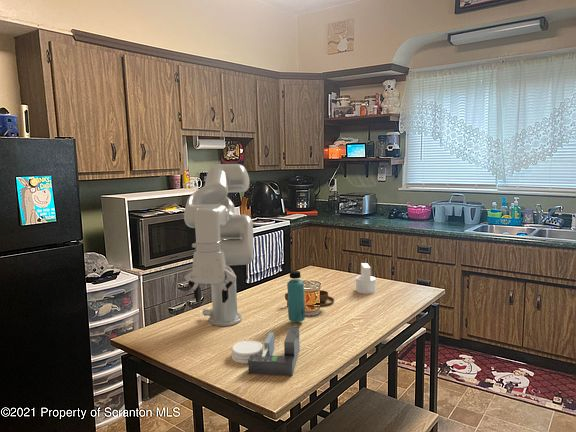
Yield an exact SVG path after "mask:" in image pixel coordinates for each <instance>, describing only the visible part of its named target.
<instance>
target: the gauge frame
mask: <svg viewBox="0 0 576 432" xmlns="http://www.w3.org/2000/svg"><path fill="white" fill-rule="evenodd" d="M300 344H301V343H300V325H299V326H296V325H295V326H293V325H290V326H289V328H288V330H287V333H286V335H285V338H284V341H283V347H284V348H283V349H284V350H283V351H284V355H272V356H270V355H266V356H265V358H262V355H251V356H250V358H249V360H248V363H247V369H248V374H249V375H265V376H285V377H287V376H288V377H293V375H294V372H295V368H296V365H297V361H298V357H299V353H300V351H301V350H300V346H301V345H300Z"/></svg>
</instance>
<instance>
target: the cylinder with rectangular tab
mask: <svg viewBox="0 0 576 432" xmlns="http://www.w3.org/2000/svg"><path fill="white" fill-rule="evenodd" d="M371 269H372V268H371V266H370V265H369V263H367V262H361V263H360V275H359V276H356V277H355V292H357V293H359V294H365V295H369V294H374V293H376V291H377V289H376V287H377V286H376V285H377V281H376V280H377V279H376V277H375V276H372V275H371V274H372V273H371V272H372V270H371Z"/></svg>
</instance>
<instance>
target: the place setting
mask: <svg viewBox="0 0 576 432" xmlns="http://www.w3.org/2000/svg"><path fill="white" fill-rule="evenodd" d="M284 298H285V299H284V300H285V301H286V307H287V308H288V292H287V293H285V294H284ZM327 301H331V302H328V303H326V302H327ZM320 303H321V304H320V307H319V308H322V307H323V308H324V307H330V306H331V305H333V304H334V303H335V298H334V297H332V296H329V292H328V291H327V290H321V289H320Z"/></svg>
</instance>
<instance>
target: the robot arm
mask: <svg viewBox="0 0 576 432" xmlns="http://www.w3.org/2000/svg"><path fill="white" fill-rule="evenodd" d="M249 187H250V176H249V174H248V171H247V168H246V167H245V166H244V165H242V164H240V163H220V164H218V163H217V164H214V165H212V166H210V167H209V169H208V170H207V172H206V178H205V183H204V185H203V186H202V187H201V188H199V189H197V190H196V191H194V192H192V193H191V195H189V197H188V198H187V201H186V204H185V208H184V212H183V219H184V223H185V225H186V226H187V227H189V228H192V229H194V230H195V243H194V242H193V243H192V244H191V247H192V249H193V248H194V249H195V251H194V252H193V256H192V257H193V258H192V270H191V271H189V272H188V273H187V274H186V275H184V279H185V280H186V282H187V284H188V286H190V287H191V288H192V290H193V295H194V299H195V303H199V302H200V301H201V300H202V289H201V287H200V285H210V287H211V305H212V308H210V309H208V308H203V309H202V314H203V316H204V317H205V316H206V317H207V316H209V318H208V323H209V324H210V325H213V326H215V327H228V326H232V325H236V324H238V323H240V322H241V321H242V319H243V317H242V316H243V315H241V313H239V312H238V301H237V300H238V297H237V296H238V295H237V294H238V293H237V275H236V274H235V272H234V270H233V269H232V268H231V267H230V266H244V265H250V264H252V262H253V260H254V224H253V219H252V218H251V216H249V215H247V214H235V204H234V203H233V202H232V199H231V198H229V197H228V194H229V193H245V192H248V190H249Z"/></svg>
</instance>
